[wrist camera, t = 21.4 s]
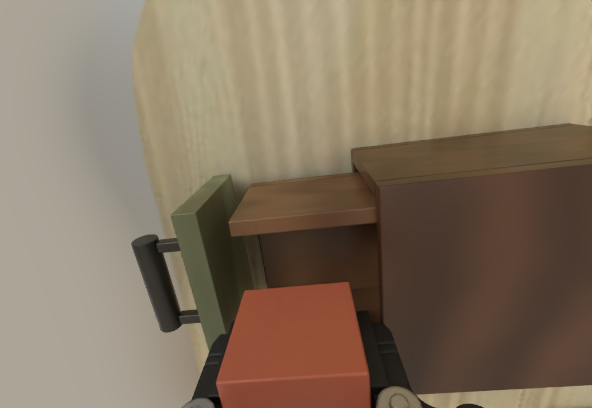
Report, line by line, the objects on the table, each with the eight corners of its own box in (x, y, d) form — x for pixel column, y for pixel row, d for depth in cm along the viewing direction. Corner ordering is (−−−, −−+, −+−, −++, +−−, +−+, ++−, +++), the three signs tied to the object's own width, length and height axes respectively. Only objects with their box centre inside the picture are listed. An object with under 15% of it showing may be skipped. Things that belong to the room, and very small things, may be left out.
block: (261, 368, 14) (242, 480, 10) (243, 289, 13) (214, 383, 9) (355, 362, 14) (375, 474, 10) (349, 280, 13) (370, 373, 8)
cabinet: (359, 294, 24) (385, 396, 16) (350, 148, 20) (378, 186, 12) (541, 280, 23) (666, 381, 15) (568, 123, 19) (757, 146, 11)
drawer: (193, 309, 24) (152, 387, 18) (156, 182, 21) (89, 223, 14) (405, 292, 23) (443, 369, 17) (405, 154, 19) (453, 185, 13)
